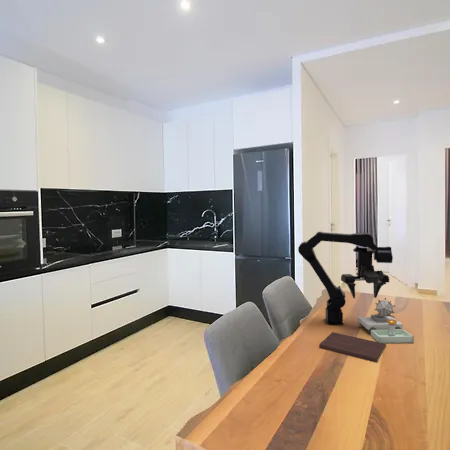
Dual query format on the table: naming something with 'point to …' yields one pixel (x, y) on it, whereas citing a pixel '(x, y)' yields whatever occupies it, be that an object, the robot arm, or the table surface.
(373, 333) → the tray
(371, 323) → the white socket plate
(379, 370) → the table surface
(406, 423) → the table surface
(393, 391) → the table surface
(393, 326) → the pin
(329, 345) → the notebook
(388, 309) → the game die
